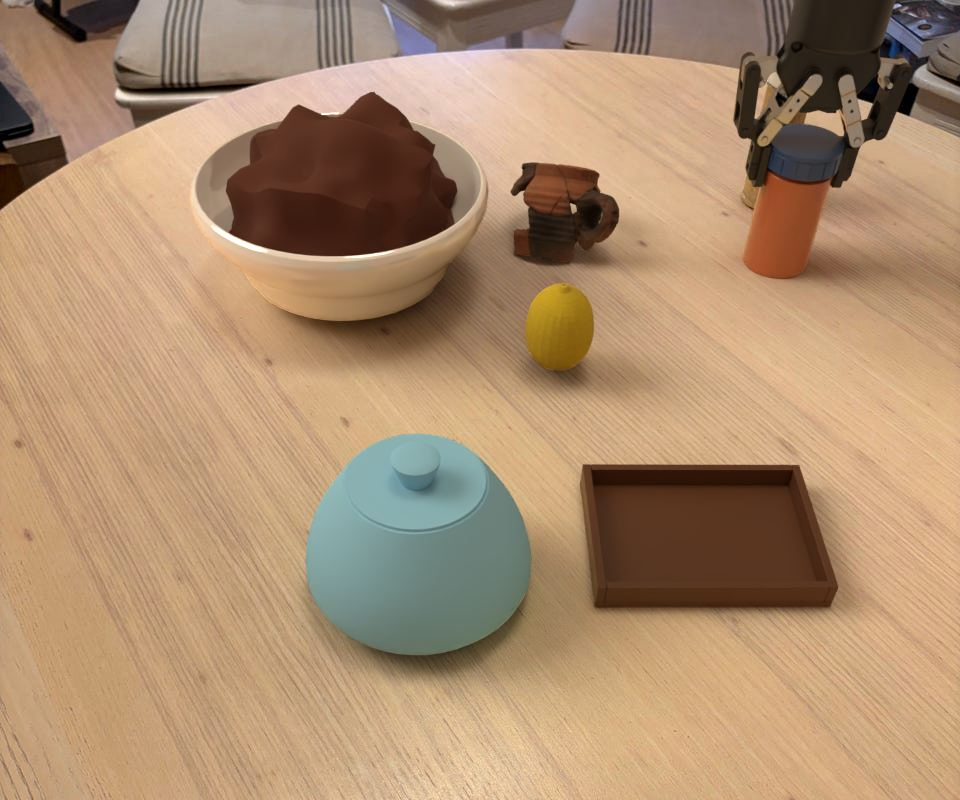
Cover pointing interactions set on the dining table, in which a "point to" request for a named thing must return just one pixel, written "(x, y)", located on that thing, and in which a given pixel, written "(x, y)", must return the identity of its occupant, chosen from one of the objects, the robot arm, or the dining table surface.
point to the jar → (784, 225)
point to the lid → (806, 152)
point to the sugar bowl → (417, 547)
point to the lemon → (559, 327)
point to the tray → (703, 537)
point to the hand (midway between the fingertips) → (794, 182)
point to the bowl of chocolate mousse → (341, 208)
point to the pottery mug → (562, 211)
